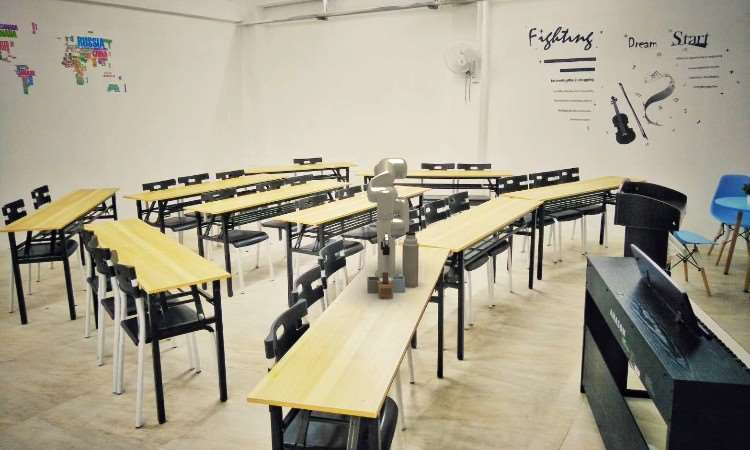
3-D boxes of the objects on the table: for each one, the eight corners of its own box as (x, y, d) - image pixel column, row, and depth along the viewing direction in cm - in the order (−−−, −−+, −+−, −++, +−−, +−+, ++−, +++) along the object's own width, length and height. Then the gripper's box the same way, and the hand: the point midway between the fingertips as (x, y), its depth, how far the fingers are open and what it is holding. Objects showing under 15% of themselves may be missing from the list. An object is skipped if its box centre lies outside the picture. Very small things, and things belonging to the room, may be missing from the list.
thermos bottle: (418, 284, 275) (419, 230, 269) (416, 289, 268) (417, 234, 261) (403, 283, 277) (403, 230, 271) (401, 288, 269) (401, 233, 263)
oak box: (378, 295, 260) (378, 283, 258) (391, 295, 260) (391, 283, 259) (379, 300, 253) (379, 288, 252) (392, 299, 254) (392, 287, 252)
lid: (377, 283, 258) (377, 271, 257) (391, 282, 259) (392, 270, 258) (378, 288, 252) (378, 275, 250) (393, 287, 252) (393, 275, 251)
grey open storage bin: (367, 290, 267) (367, 276, 265) (379, 289, 267) (379, 276, 266) (367, 294, 261) (367, 280, 259) (380, 294, 261) (380, 280, 260)
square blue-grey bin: (391, 289, 268) (391, 276, 266) (403, 289, 268) (403, 275, 267) (392, 293, 262) (392, 279, 260) (404, 293, 262) (405, 279, 261)
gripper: (375, 212, 256) (375, 247, 260) (378, 220, 239) (378, 257, 243) (391, 212, 257) (391, 247, 260) (395, 220, 240) (395, 257, 244)
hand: (385, 252), depth 252 cm, fingers open, 9 cm apart
